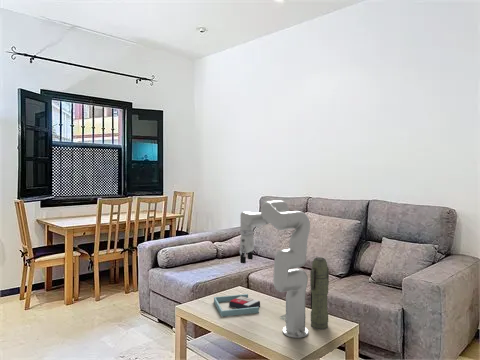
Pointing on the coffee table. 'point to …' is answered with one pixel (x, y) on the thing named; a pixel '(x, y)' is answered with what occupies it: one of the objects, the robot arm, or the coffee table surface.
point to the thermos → (319, 293)
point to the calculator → (244, 303)
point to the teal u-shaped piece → (233, 311)
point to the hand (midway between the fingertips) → (246, 261)
